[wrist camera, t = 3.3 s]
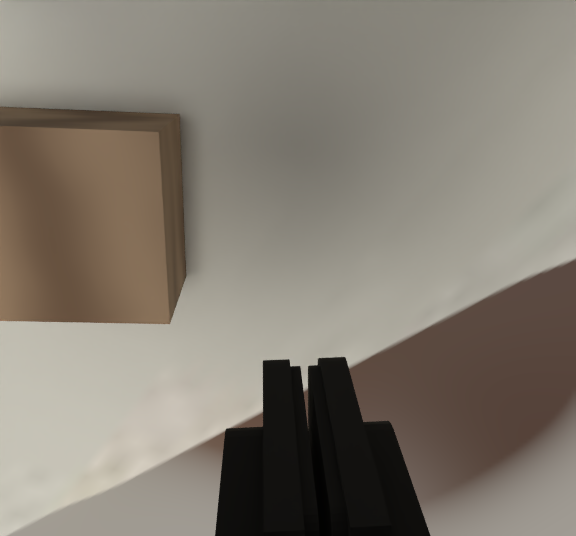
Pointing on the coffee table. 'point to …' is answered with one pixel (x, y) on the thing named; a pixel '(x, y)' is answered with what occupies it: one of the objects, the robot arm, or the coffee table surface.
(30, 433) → the coffee table surface
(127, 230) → the walnut block
